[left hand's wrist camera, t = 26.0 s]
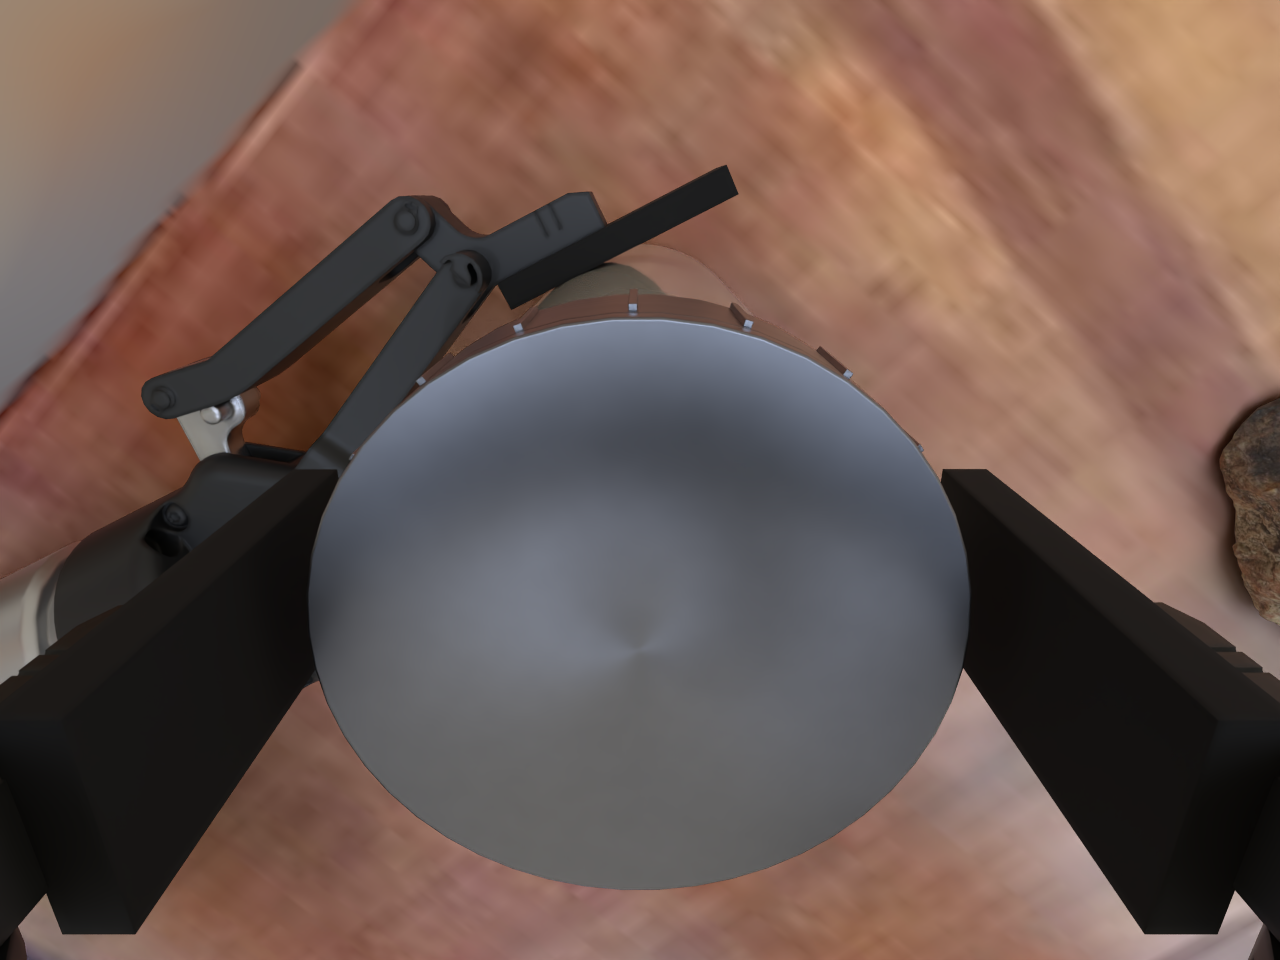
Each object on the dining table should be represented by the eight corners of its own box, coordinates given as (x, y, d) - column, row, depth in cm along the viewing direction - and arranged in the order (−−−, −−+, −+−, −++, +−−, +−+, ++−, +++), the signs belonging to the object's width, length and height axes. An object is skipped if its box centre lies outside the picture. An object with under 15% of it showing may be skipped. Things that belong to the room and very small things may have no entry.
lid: (1035, 454, 11) (1119, 509, 9) (747, 854, 14) (764, 960, 12) (483, 173, 10) (444, 168, 8) (289, 682, 13) (226, 770, 11)
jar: (731, 222, 26) (902, 278, 9) (761, 440, 29) (933, 789, 12) (506, 268, 27) (272, 399, 10) (558, 476, 30) (447, 859, 13)
